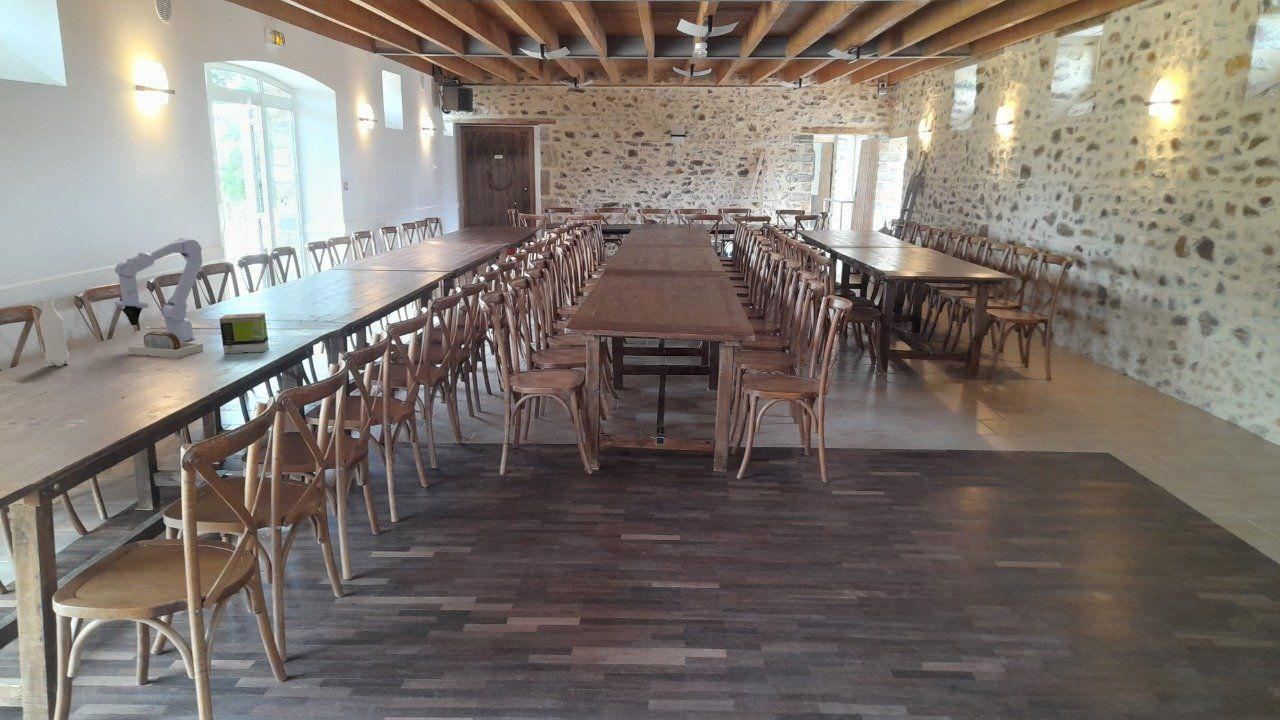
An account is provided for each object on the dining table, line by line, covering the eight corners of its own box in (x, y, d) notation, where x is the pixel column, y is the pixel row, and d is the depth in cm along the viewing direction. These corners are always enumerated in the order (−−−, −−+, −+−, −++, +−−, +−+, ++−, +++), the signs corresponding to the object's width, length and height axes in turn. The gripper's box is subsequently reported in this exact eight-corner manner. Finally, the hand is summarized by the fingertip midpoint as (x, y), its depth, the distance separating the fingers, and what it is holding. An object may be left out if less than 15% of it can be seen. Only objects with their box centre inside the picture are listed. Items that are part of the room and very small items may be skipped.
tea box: (269, 347, 316) (265, 312, 312) (264, 352, 307) (260, 316, 303) (229, 348, 312) (225, 313, 309) (223, 354, 303) (218, 318, 299)
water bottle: (74, 364, 284) (63, 298, 278) (52, 368, 278) (40, 301, 272) (65, 362, 288) (53, 296, 282) (43, 365, 282) (31, 299, 276)
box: (156, 346, 313) (155, 339, 313) (203, 350, 308) (202, 343, 307) (129, 354, 301) (128, 346, 300) (177, 358, 296) (176, 350, 295)
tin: (181, 353, 304) (179, 332, 302) (175, 354, 301) (172, 334, 299) (150, 350, 307) (147, 330, 305) (143, 352, 304) (140, 332, 302)
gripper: (106, 292, 305) (111, 325, 308) (135, 294, 301) (140, 327, 305) (121, 289, 312) (126, 322, 315) (150, 291, 308) (155, 324, 311)
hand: (134, 324), depth 310 cm, fingers closed
